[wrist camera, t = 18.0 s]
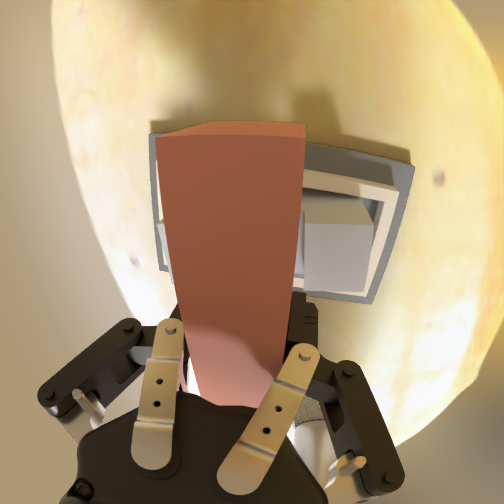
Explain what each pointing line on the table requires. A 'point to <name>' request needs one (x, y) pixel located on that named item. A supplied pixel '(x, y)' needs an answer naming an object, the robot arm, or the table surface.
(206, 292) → the pink rectangular brick
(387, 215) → the jig
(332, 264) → the stepped grey block
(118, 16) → the table surface
